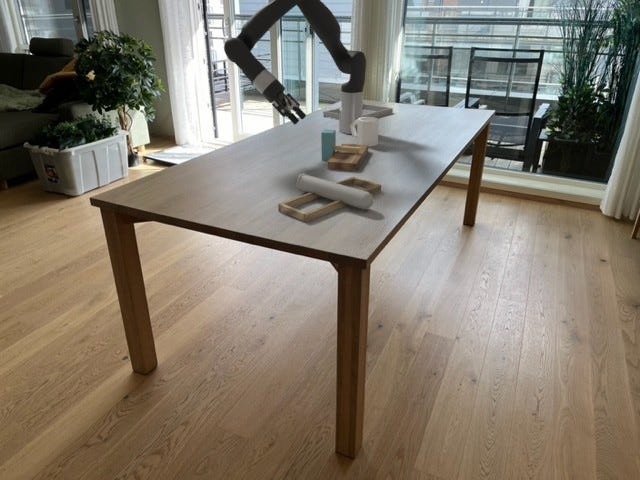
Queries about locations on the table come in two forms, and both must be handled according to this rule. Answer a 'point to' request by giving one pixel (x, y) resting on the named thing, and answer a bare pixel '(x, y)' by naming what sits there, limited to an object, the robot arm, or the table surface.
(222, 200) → the table surface
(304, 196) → the tube rack
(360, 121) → the mug
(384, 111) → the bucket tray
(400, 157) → the table surface
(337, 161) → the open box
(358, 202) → the tube
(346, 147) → the teal ice pop
